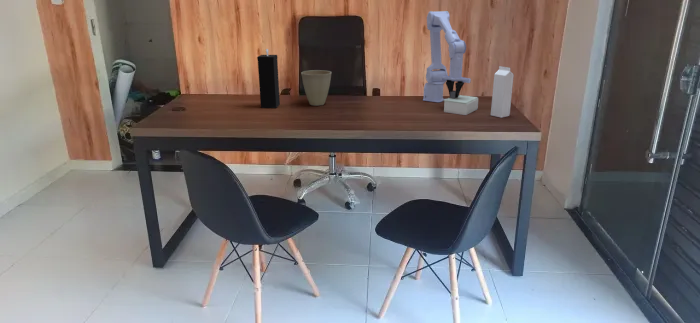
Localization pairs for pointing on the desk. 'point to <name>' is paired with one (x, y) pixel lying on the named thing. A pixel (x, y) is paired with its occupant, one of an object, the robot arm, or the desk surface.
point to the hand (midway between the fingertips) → (454, 96)
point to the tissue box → (268, 80)
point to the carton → (460, 107)
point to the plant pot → (316, 85)
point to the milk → (502, 92)
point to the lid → (460, 98)
